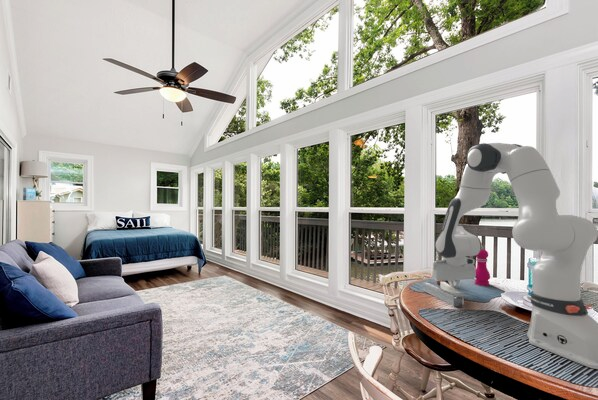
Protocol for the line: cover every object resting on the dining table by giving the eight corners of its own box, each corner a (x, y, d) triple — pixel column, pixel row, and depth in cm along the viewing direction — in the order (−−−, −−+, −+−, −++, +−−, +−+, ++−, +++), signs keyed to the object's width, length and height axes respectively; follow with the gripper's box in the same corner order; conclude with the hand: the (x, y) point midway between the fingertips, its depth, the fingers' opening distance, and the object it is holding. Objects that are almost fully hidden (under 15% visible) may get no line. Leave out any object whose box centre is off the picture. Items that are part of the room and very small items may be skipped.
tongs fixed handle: (464, 307, 117) (464, 298, 117) (457, 308, 116) (457, 298, 116) (428, 290, 140) (428, 282, 140) (422, 290, 139) (422, 282, 139)
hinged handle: (468, 307, 116) (468, 296, 116) (457, 307, 116) (457, 295, 117) (444, 289, 140) (444, 280, 140) (435, 289, 140) (435, 280, 140)
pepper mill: (477, 285, 147) (477, 247, 147) (471, 282, 154) (471, 245, 154) (493, 286, 146) (492, 247, 146) (486, 282, 153) (485, 245, 153)
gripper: (437, 261, 128) (438, 292, 128) (477, 260, 131) (478, 289, 131) (429, 259, 134) (429, 288, 134) (467, 257, 137) (468, 285, 137)
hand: (453, 289), depth 133 cm, fingers closed
